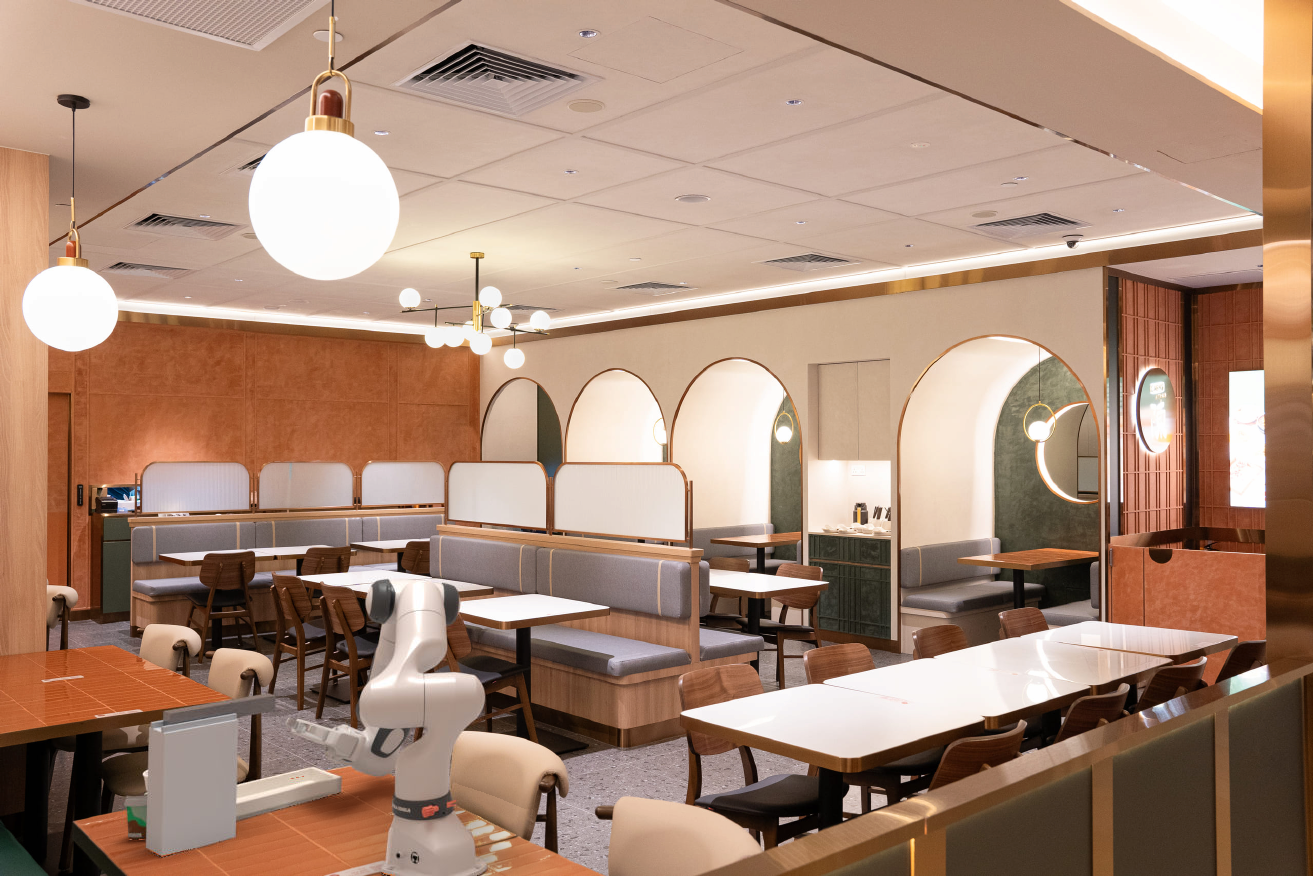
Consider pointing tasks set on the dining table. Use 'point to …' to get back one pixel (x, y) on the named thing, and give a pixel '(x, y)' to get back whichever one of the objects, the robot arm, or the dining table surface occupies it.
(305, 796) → the tray
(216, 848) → the dining table surface
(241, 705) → the dark gray bar
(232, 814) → the channel block
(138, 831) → the food container
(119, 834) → the dining table surface
